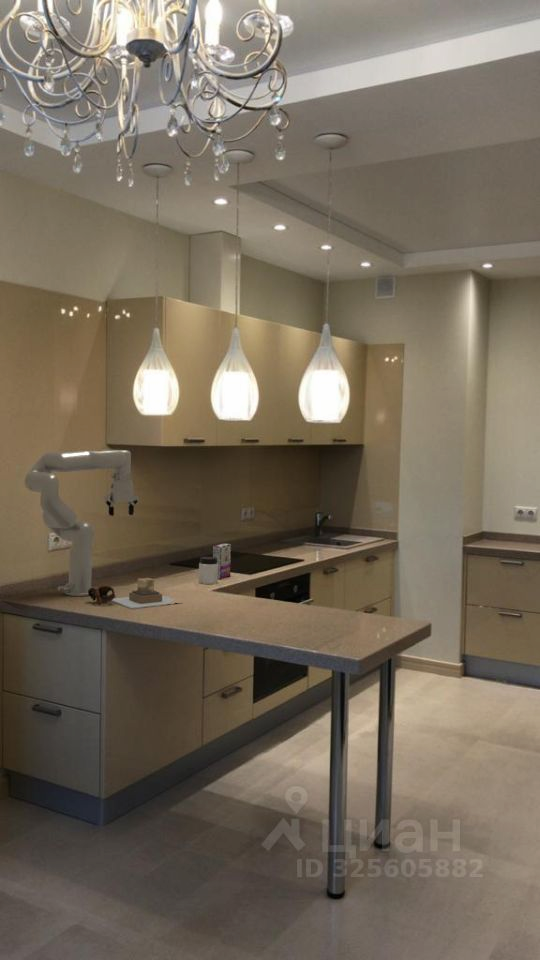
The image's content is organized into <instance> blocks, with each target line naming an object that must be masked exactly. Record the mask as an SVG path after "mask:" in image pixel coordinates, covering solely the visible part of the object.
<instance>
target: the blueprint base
mask: <svg viewBox="0 0 540 960" xmlns="http://www.w3.org/2000/svg"><path fill="white" fill-rule="evenodd" d="M137 590H138V589H137ZM137 590H132V591H131V592H130V591H129V596H126V597H117V598H114V599H113V600H111V601H110V602H111V603H114V604H116V605H117V604H118V605H119V606H122V607H125V608H128V609H130V610H137V608H138V609H144V608H143V607H147V608H152V607H151V606H156V607H158V606H157V605H163V604H169V603H170V602H172V601H173V599H174V600H176V599H175V598H172V597H169V596H166V595H163V594H162V593H160V592H159V591H157V590H154V593H145V594H142V593H139V592H137ZM173 603H174V602H173Z"/></svg>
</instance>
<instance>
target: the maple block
mask: <svg viewBox="0 0 540 960" xmlns="http://www.w3.org/2000/svg"><path fill="white" fill-rule="evenodd" d="M154 591H155V579H153V578H149V577H141V578H137V592H139V593H142V594H145V593H154Z"/></svg>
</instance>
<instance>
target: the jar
mask: <svg viewBox="0 0 540 960" xmlns="http://www.w3.org/2000/svg"><path fill="white" fill-rule="evenodd" d="M217 577H218V563H217V558H216V557H213V556H201V557H200V559H199V563H198V583H199V584H203V585H215V584H217V583H218V579H217Z"/></svg>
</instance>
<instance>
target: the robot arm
mask: <svg viewBox="0 0 540 960" xmlns="http://www.w3.org/2000/svg"><path fill="white" fill-rule="evenodd" d="M131 457H132V454H131V451H130V450H126V449H102V450H98V451H96V450H75V451H61V452H60V451H48V452H45V453H44V454H42V456H41V457H40V458H39V459H38V460H37V461H36V462H35V464H34V465H33V466H32V468H30V470H29V471H28V473H26V475H25V477H24V486H25V487H26V489H27V490H29V491H31V492H35V493H40V498H39V499H40V500H39V501H40V505H39V506H40V508H41V510H42V511H43V512H42V521H43V523H44V525H45V526H46V527H47V528H49V529H50V531H52V532H53V533H54V534H55V535H56V536H57V537H59V538H60V540H61V539H62V541H65V542H72V544H71V547H70V549H69V554H68V555H69V556H68V558H69V561H68V562H69V563H68V582H66V584H65V585H59V586H57V590H58V591H60V592H62V591H64V594H65V595H66V596H70V597H87V596H89V594H88V590H89V589H90V588H92V571H93V569H92V567H93V556H92V555H93V544H94V539H95V527H94V526H93V525H92V524H91V523H90V522H88V521H84V520H78V516H77V514H76V512H75V511H74V510H73V509H72V508H71V507H70V505H68V504H66V503H65V502H64V500H62V498H61V497H60V496H59V489H60V488H59V487H60V483H59V482H60V481H59V478H58V477H57V476H56V475H55V474H54V473H70V472H79V471H91V470H92V471H94V470H103V469H104V470H105V469H113V474H111V475H110V478H111V479H112V481H111V484H110V490H109V493H108V494H106V495H105V496H103V500H104V503H105V504H106V505H107V506H108V514H109V516H111V517H114V516H115V507H114V505H115V504H121V503H122V504H123V503H124V504H125V503H128V504H129V505H128V515H130V516H133V515H134V513H135V510H134V509H135V507H136V504H137V503H138V502H139V499H140V496H139V495H137V494H135V491H134V484H133V480H131V469H132V467H131V466H132V465H131V462H132V458H131ZM52 472H53V473H52ZM109 500H110V501H109Z"/></svg>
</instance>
